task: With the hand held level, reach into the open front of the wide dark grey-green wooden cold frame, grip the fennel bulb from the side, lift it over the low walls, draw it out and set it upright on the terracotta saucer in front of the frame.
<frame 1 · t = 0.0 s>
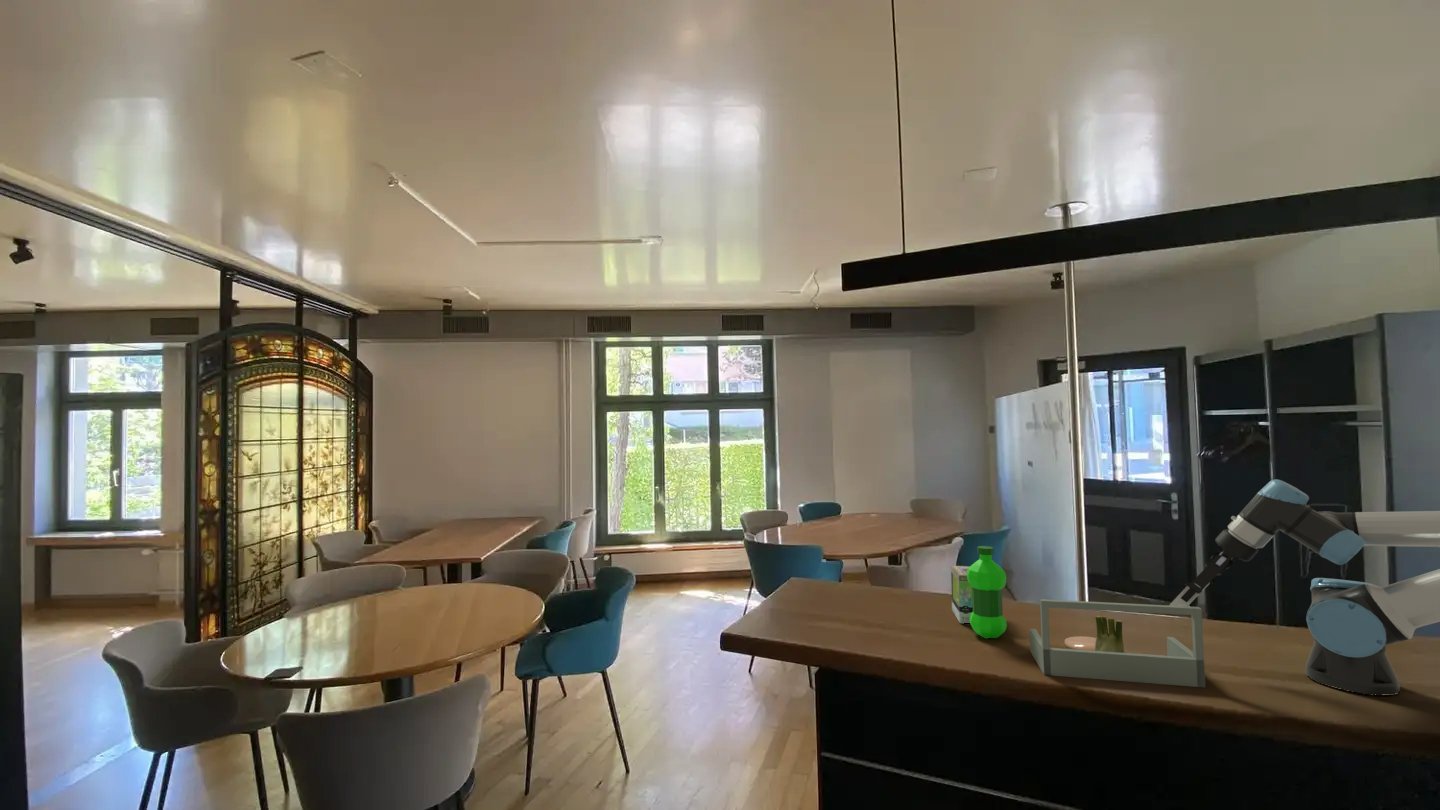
hand: (1180, 603, 156), 15 cm above the table, tool tilted 35°, fingers open, 13 cm apart
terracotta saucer: (1092, 647, 170), on the table
plastic bottle: (988, 636, 181), on the table
fennel bulb: (1109, 667, 156), on the table
tea box: (972, 618, 198), on the table
cold frame: (1109, 666, 156), on the table
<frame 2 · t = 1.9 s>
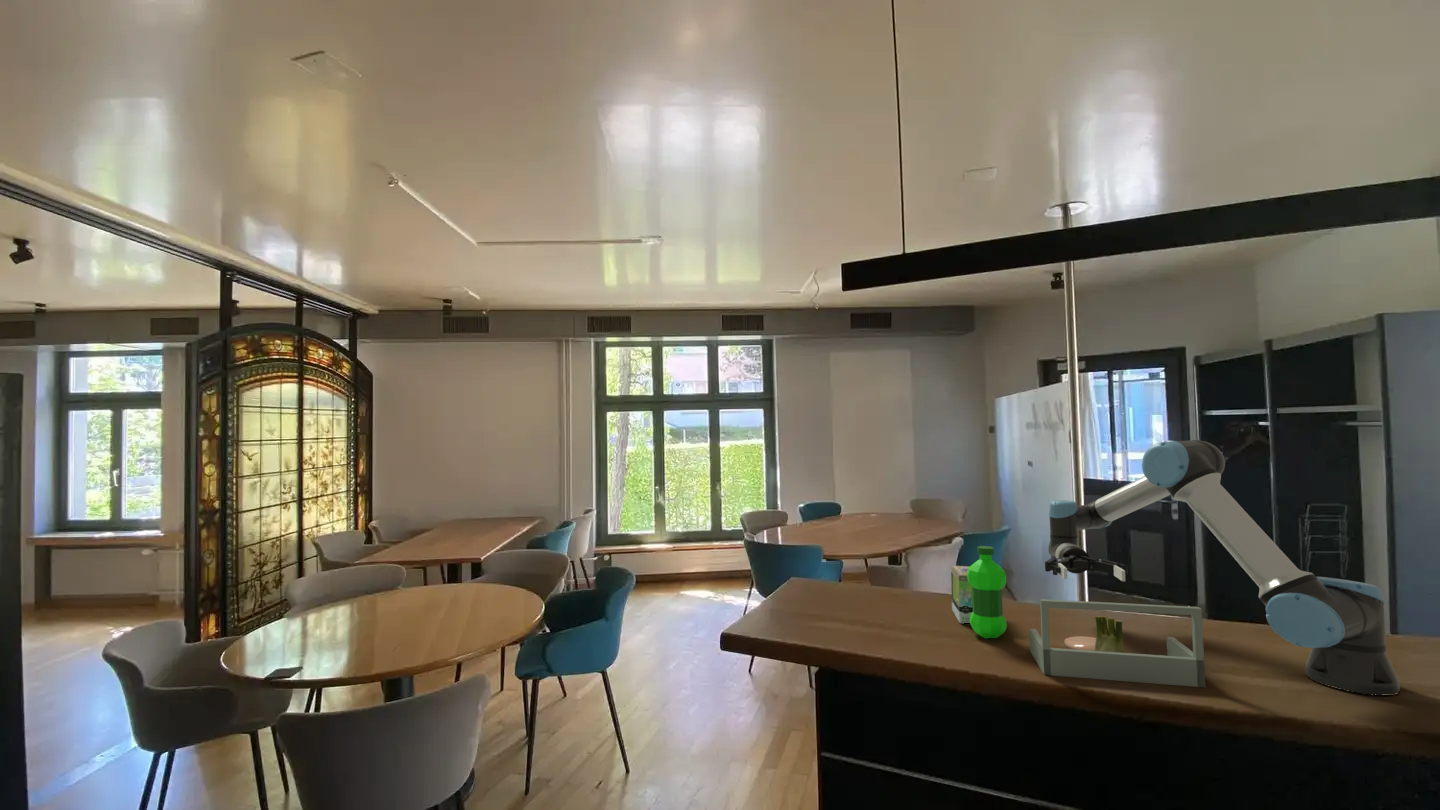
hand: (1094, 574, 166), 20 cm above the table, tool horizontal, fingers open, 13 cm apart
nothing on the table moved.
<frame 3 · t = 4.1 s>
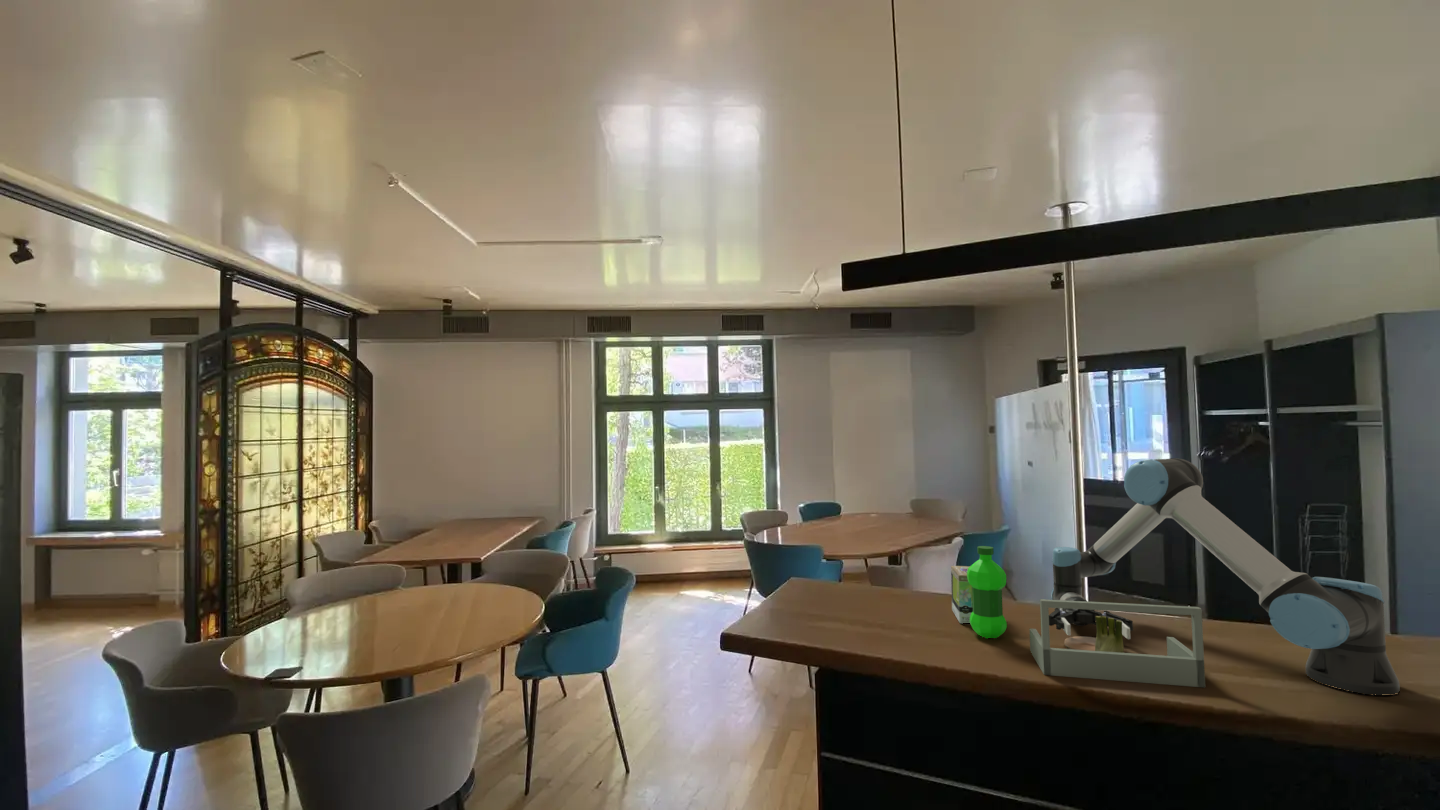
hand: (1098, 632, 163), 6 cm above the table, tool horizontal, fingers open, 13 cm apart
nothing on the table moved.
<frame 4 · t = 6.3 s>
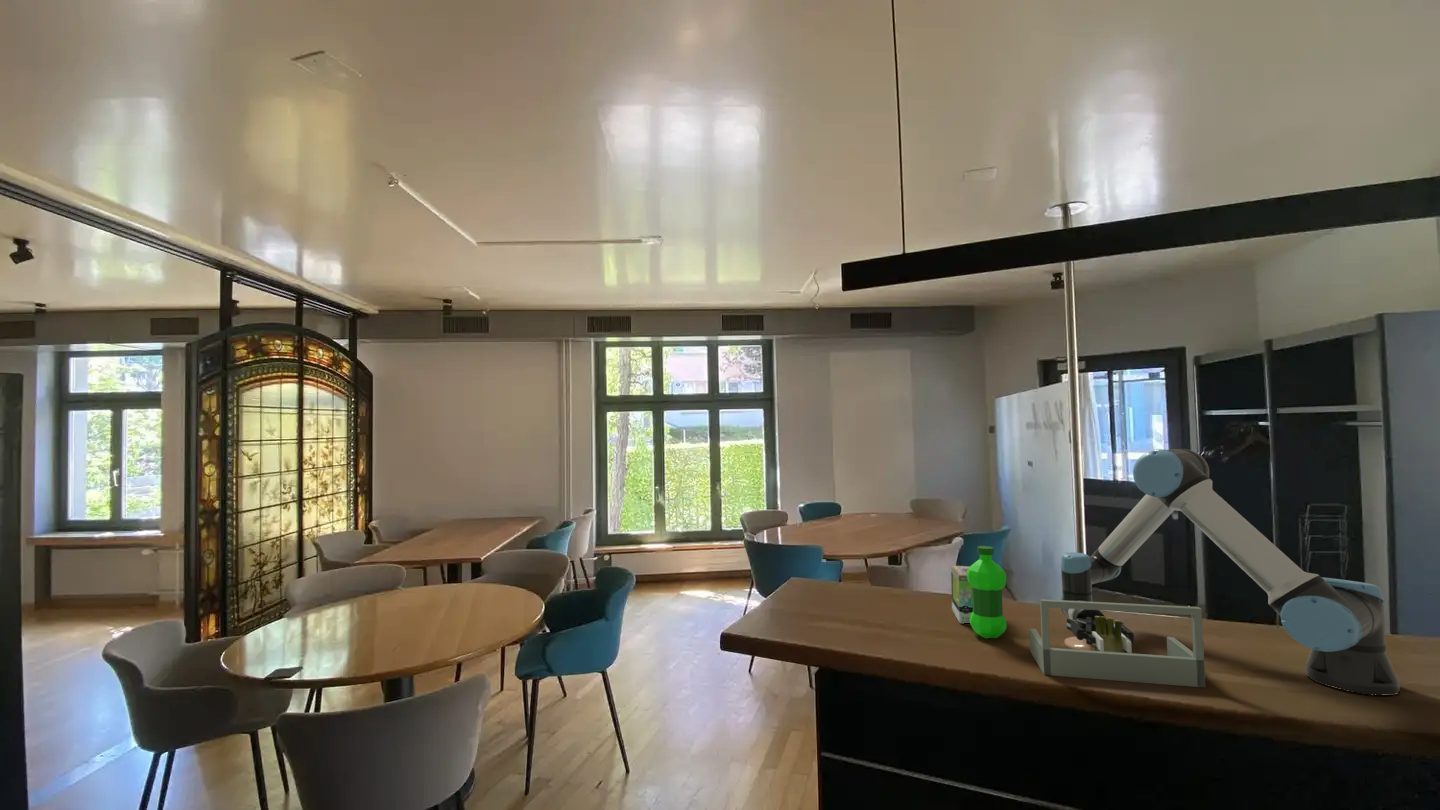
hand: (1115, 646, 151), 7 cm above the table, tool horizontal, fingers closed on fennel bulb, 5 cm apart
fennel bulb: (1109, 666, 156), on the table, touching gripper
everything else where it was.
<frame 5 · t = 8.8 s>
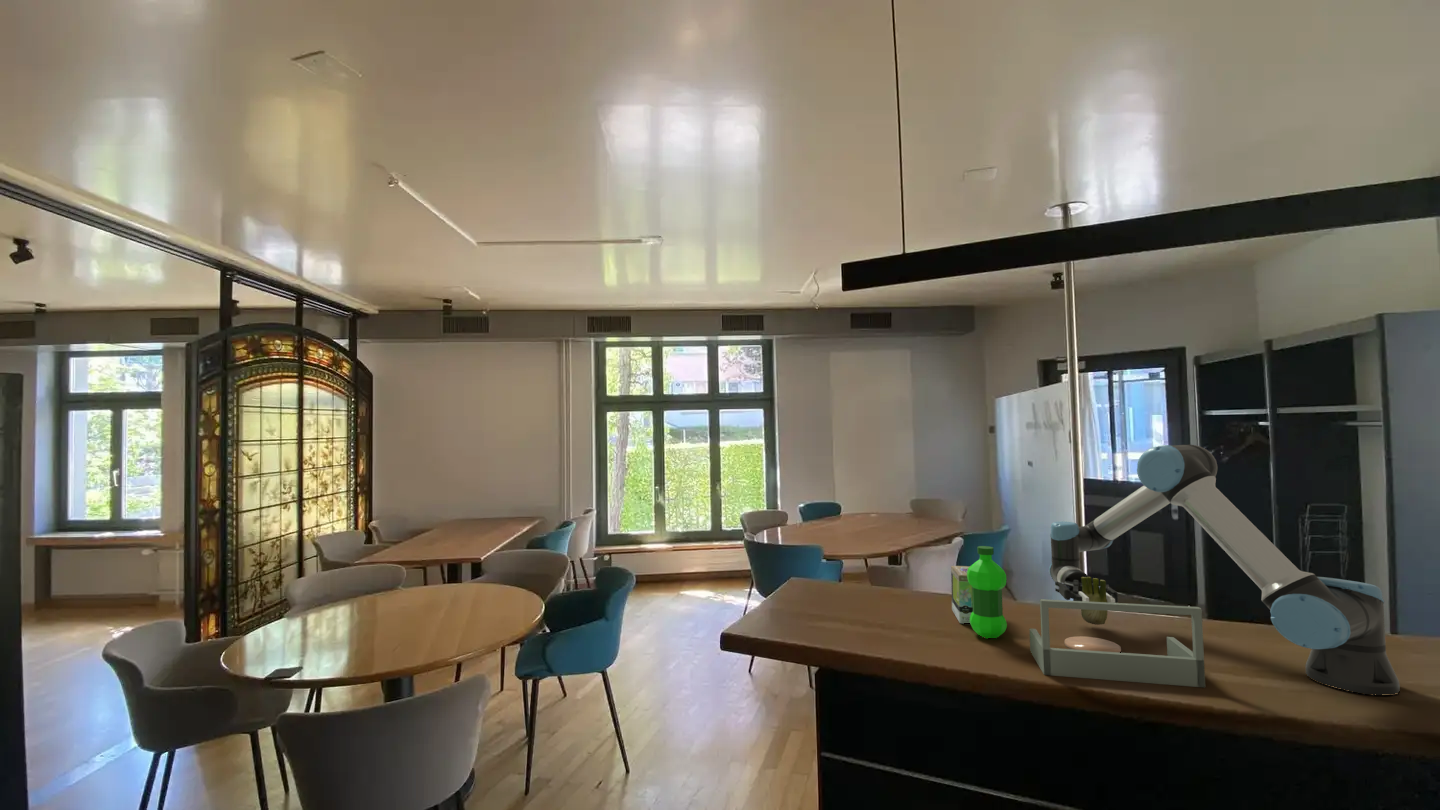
hand: (1100, 603, 161), 14 cm above the table, tool horizontal, fingers closed on fennel bulb, 5 cm apart
fennel bulb: (1094, 624, 165), point 7 cm above the table, touching gripper
everything else where it was.
when the fingers open (9 cm above the table, at t = 10.9 s): fennel bulb drops 1 cm, resting on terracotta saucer.
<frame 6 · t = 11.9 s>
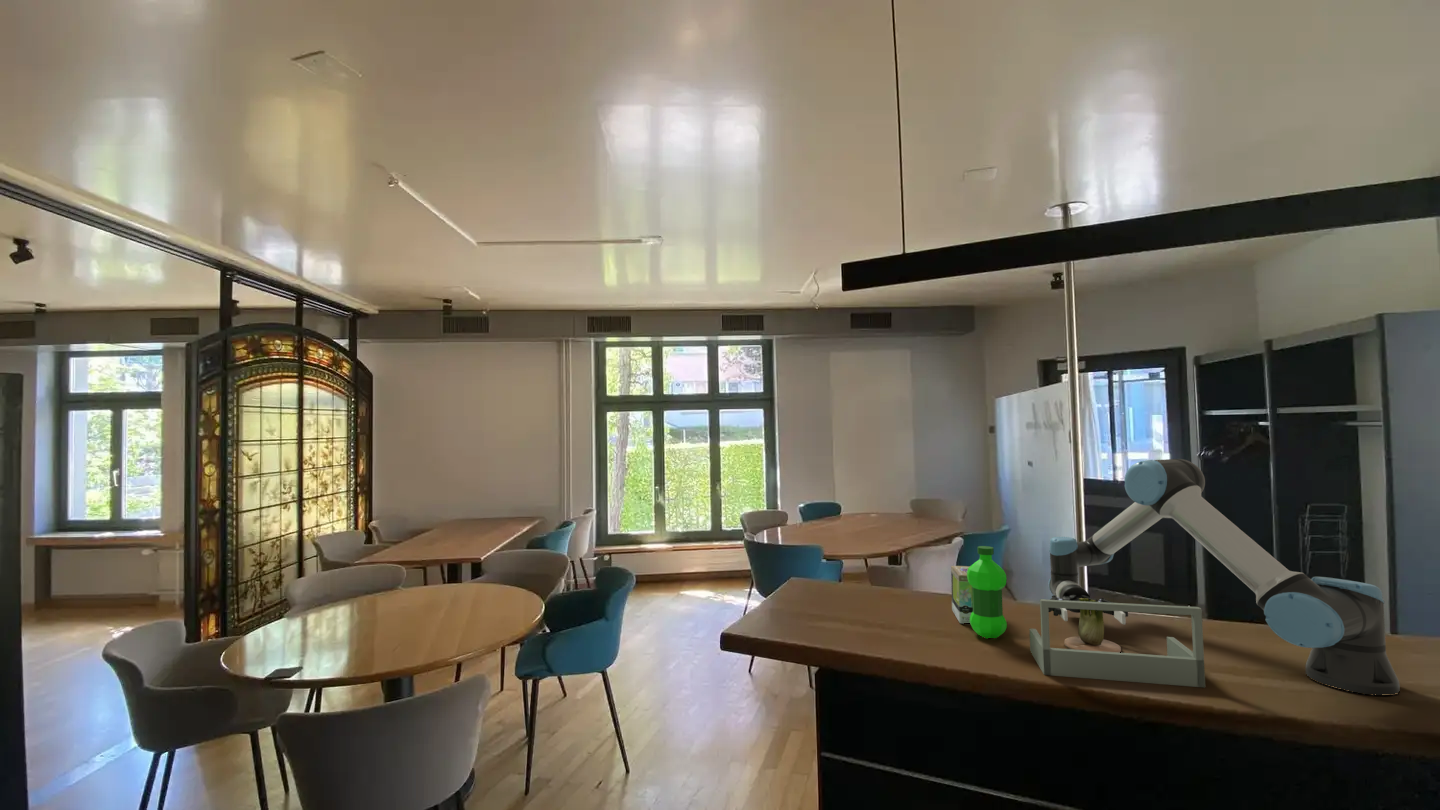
hand: (1094, 617, 167), 9 cm above the table, tool horizontal, fingers open, 13 cm apart
fennel bulb: (1091, 644, 170), point 1 cm above the table, touching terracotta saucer
everything else where it was.
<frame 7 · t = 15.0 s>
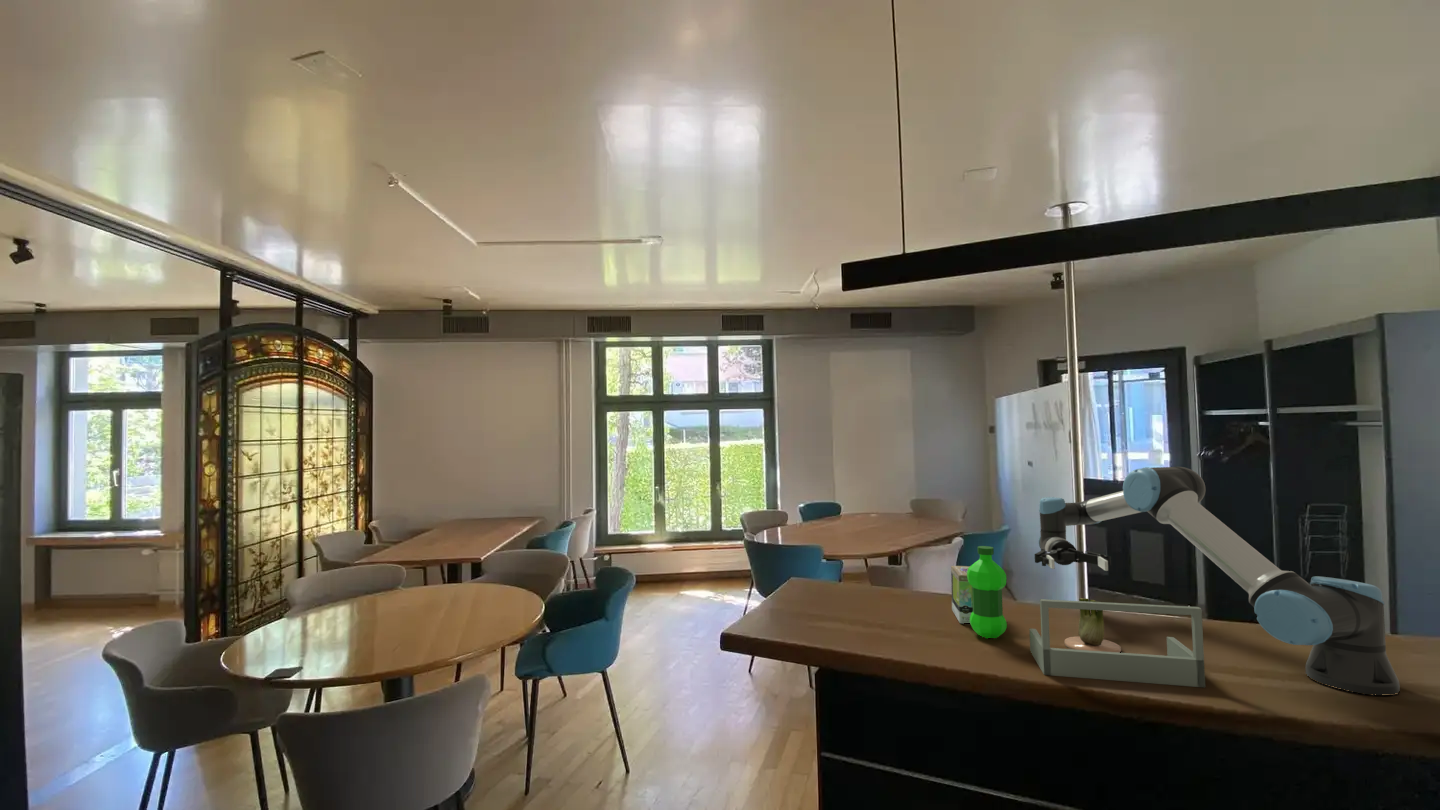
hand: (1079, 565, 180), 20 cm above the table, tool horizontal, fingers open, 13 cm apart
nothing on the table moved.
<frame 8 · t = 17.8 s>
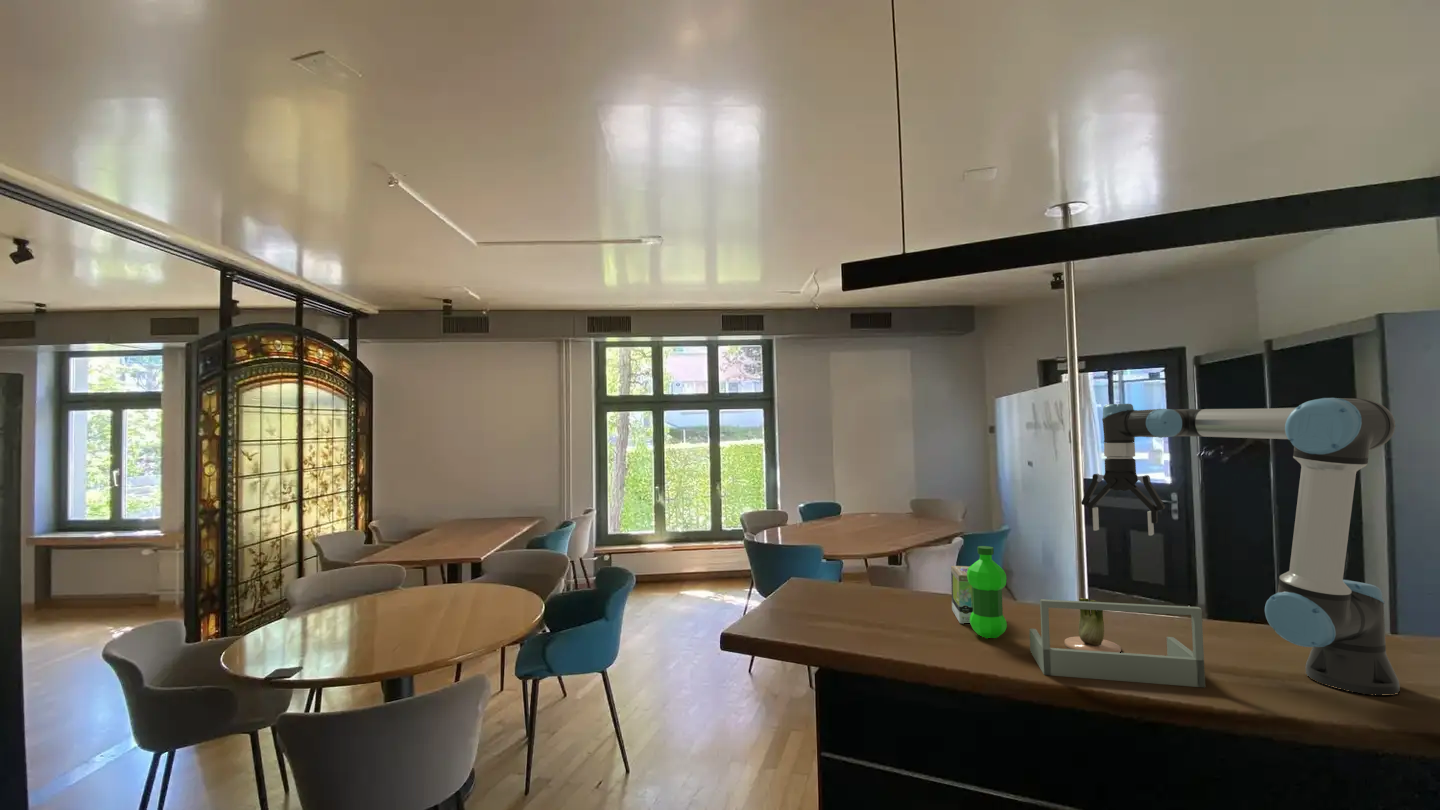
hand: (1122, 532, 181), 29 cm above the table, tool pointing down, fingers open, 13 cm apart
nothing on the table moved.
at the end: fennel bulb inside the target area on the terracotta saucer (0.2 cm from its centre), point 0.6 cm above the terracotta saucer's base; fennel bulb tilted 0°; the gripper is holding nothing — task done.
